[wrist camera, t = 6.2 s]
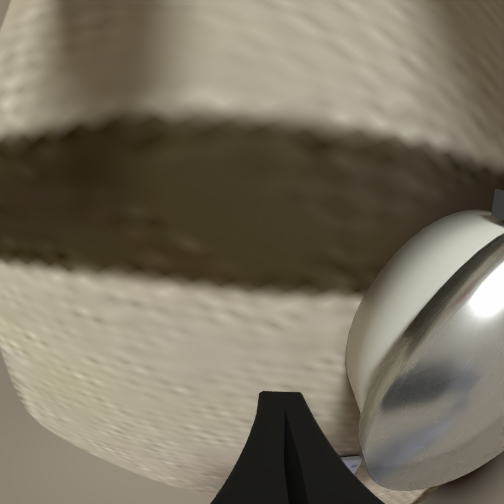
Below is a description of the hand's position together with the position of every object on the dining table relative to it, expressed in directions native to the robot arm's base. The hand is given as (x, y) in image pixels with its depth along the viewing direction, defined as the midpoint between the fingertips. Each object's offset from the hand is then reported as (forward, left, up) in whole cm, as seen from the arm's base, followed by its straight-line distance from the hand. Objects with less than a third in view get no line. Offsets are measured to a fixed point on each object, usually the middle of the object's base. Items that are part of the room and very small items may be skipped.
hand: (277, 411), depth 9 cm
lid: (0, -11, -1) cm, 11 cm away
